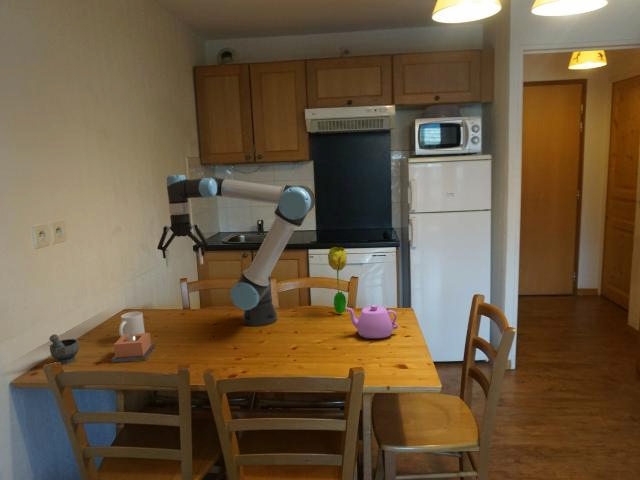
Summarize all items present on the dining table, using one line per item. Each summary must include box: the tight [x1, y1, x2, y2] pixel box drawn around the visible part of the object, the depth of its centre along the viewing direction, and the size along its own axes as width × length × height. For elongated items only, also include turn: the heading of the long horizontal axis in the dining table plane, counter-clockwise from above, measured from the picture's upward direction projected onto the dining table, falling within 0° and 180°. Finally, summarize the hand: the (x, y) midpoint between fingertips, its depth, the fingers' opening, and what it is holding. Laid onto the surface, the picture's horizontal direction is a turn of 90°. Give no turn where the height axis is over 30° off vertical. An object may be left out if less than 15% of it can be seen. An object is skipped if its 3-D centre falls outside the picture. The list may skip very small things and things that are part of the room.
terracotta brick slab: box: [113, 332, 152, 358], centre depth 180 cm, size 10×10×5 cm
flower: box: [327, 246, 348, 315], centre depth 211 cm, size 9×8×30 cm
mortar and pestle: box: [48, 333, 80, 366], centre depth 177 cm, size 11×9×12 cm
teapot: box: [345, 304, 399, 340], centre depth 186 cm, size 20×13×12 cm, turn 84°
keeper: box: [110, 335, 156, 364], centre depth 180 cm, size 12×12×8 cm
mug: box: [118, 311, 146, 338], centre depth 196 cm, size 12×8×10 cm
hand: (185, 264), depth 198 cm, fingers open, 13 cm apart
